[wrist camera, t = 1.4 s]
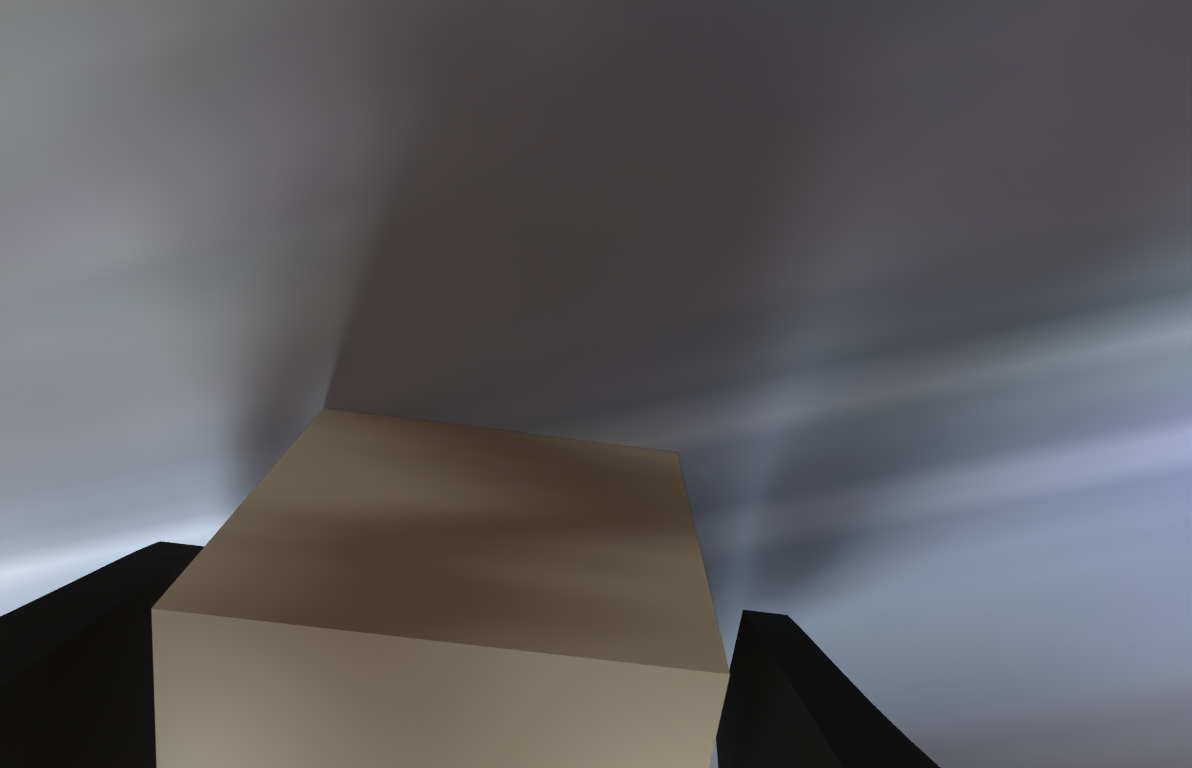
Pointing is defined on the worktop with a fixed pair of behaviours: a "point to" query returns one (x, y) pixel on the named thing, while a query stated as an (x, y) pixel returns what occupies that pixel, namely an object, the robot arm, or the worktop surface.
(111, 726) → the robot arm
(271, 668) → the block
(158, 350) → the worktop surface
